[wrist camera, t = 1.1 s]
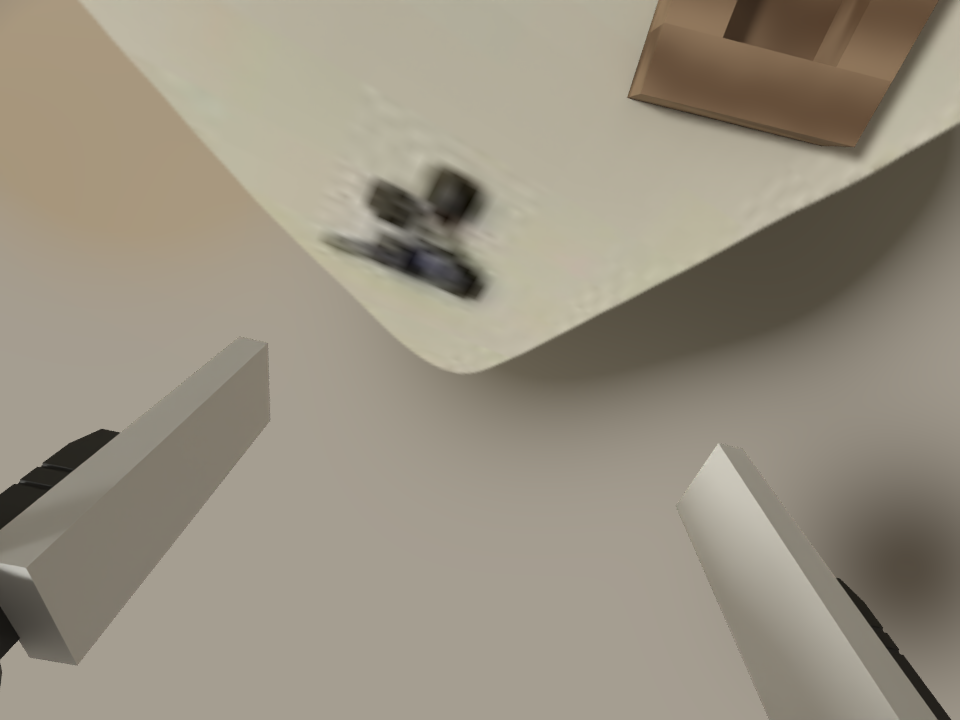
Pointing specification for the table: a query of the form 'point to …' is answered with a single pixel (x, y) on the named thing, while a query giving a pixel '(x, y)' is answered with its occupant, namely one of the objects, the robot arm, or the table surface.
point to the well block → (779, 62)
